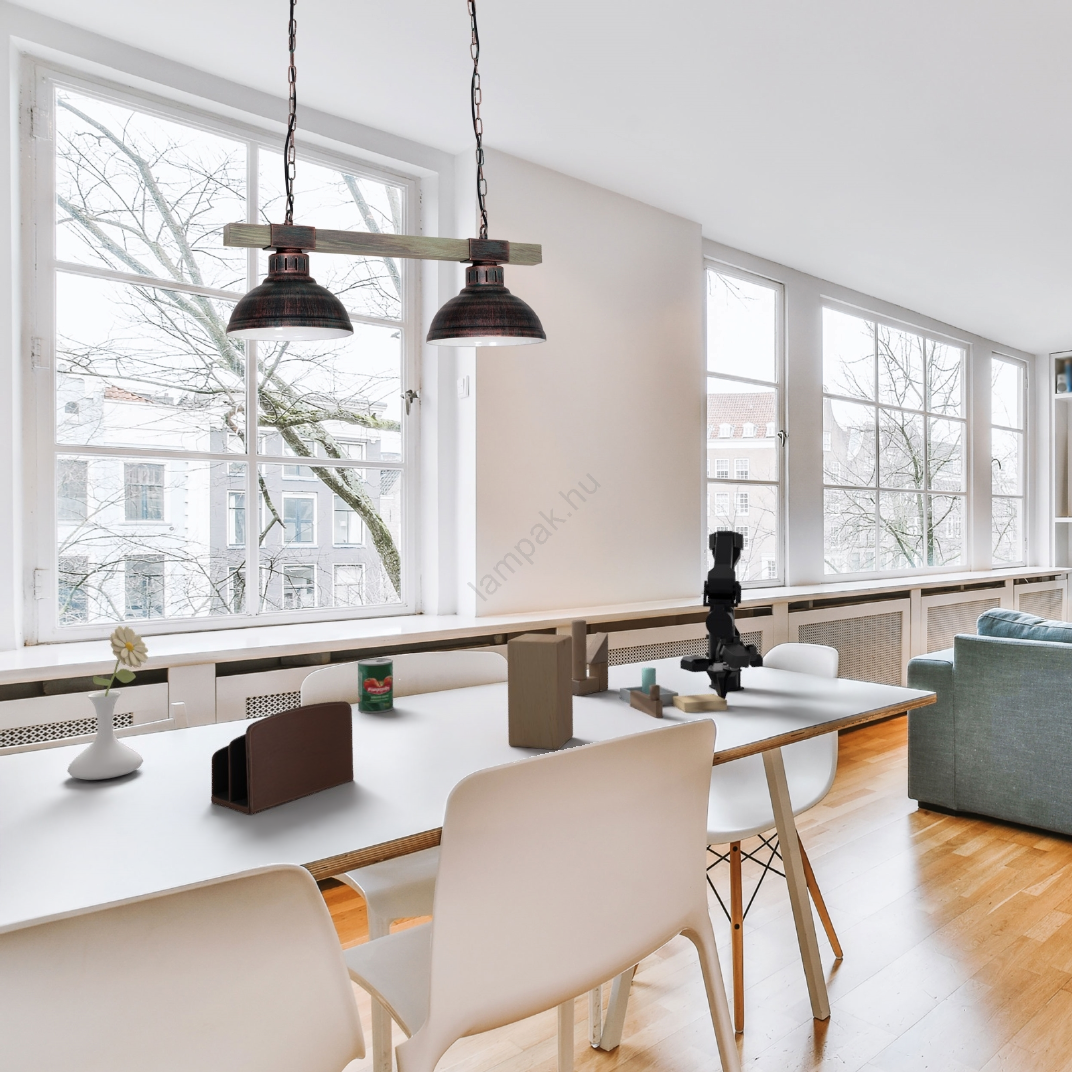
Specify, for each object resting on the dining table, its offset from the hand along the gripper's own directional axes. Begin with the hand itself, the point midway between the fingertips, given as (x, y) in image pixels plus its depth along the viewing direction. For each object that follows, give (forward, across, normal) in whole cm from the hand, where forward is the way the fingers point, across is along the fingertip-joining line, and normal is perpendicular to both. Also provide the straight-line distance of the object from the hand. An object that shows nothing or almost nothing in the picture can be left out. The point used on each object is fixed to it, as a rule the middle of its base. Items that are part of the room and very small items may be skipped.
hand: (722, 699), depth 186 cm
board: (+2, -6, 0) cm, 6 cm away
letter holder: (+2, -97, -24) cm, 100 cm away
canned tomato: (+2, -74, +28) cm, 79 cm away
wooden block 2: (+2, -22, +25) cm, 33 cm away
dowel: (+1, -13, +10) cm, 17 cm away
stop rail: (+1, -19, +1) cm, 19 cm away
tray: (+1, -13, +10) cm, 17 cm away
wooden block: (+2, -49, -12) cm, 51 cm away
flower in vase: (+2, -124, -3) cm, 124 cm away
